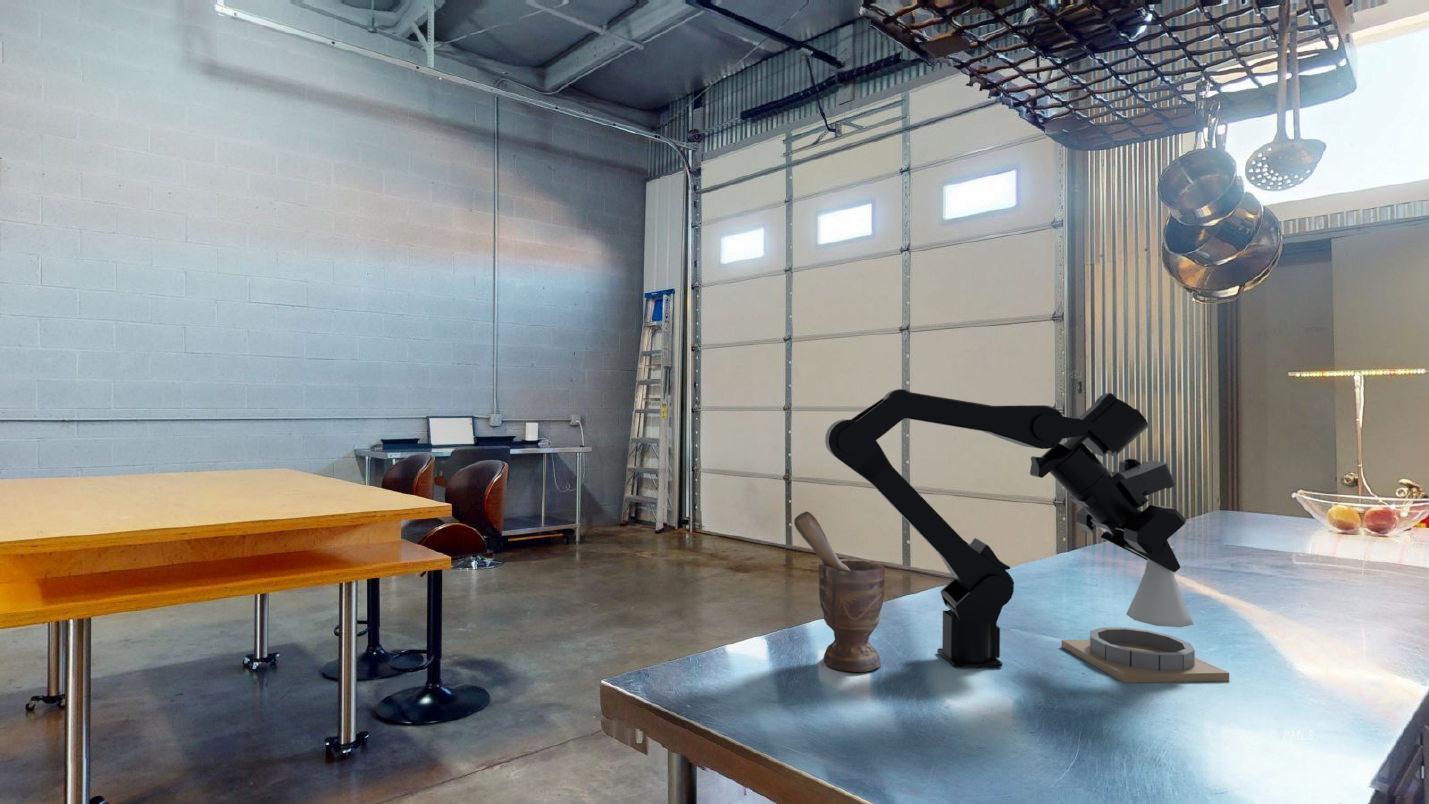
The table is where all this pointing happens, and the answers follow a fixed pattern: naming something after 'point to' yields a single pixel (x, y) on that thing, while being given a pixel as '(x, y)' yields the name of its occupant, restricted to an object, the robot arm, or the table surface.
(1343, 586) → the table surface
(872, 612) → the mortar and pestle
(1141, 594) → the flask
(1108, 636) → the duct collar
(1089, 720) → the table surface
